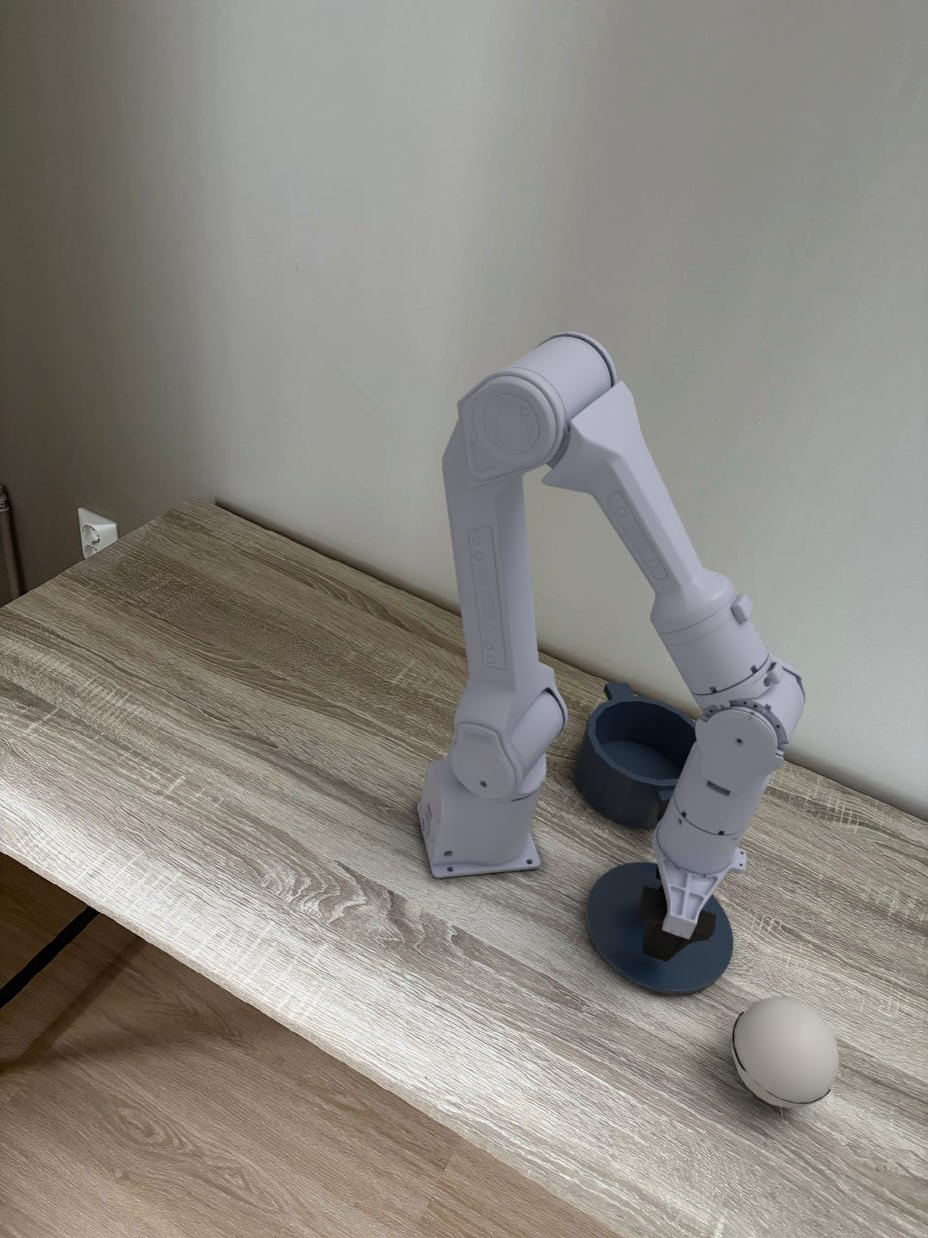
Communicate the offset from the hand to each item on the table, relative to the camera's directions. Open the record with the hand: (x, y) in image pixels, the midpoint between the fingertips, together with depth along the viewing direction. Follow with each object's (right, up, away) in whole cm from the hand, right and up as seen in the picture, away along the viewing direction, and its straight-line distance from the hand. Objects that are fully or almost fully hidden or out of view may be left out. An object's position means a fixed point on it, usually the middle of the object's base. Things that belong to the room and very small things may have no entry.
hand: (661, 915), depth 80 cm
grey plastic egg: (+6, -10, -8) cm, 14 cm away
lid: (0, -1, +1) cm, 1 cm away
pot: (0, +9, +14) cm, 17 cm away
